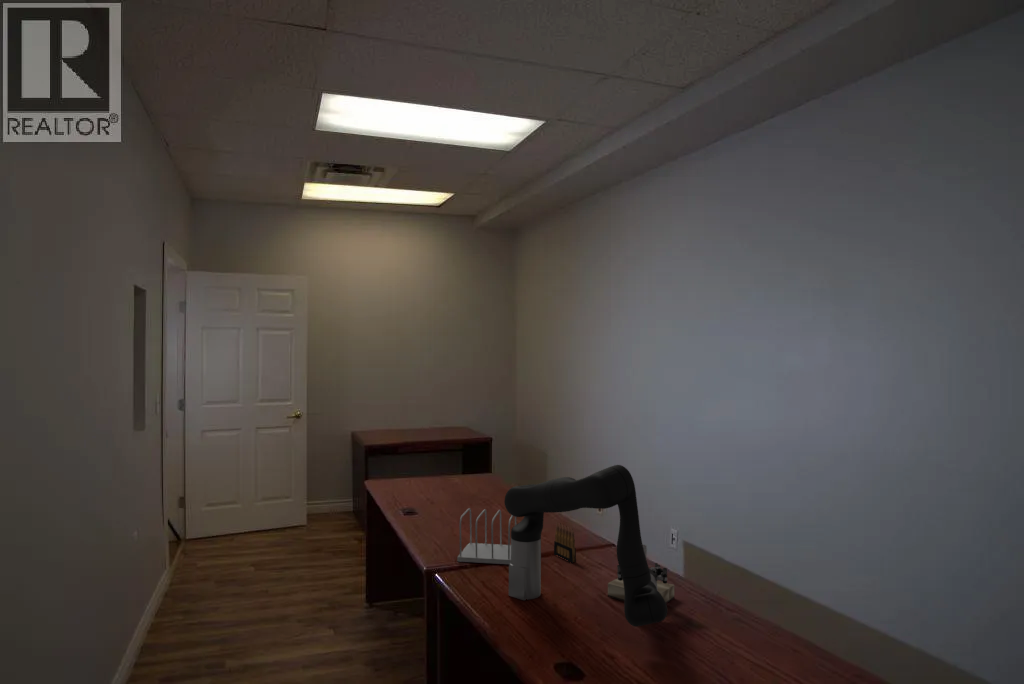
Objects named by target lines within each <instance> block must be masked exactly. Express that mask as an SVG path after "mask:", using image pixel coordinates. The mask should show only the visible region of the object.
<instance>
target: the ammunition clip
mask: <svg viewBox="0 0 1024 684" xmlns="http://www.w3.org/2000/svg"><path fill="white" fill-rule="evenodd" d="M575 539H576V538H575V531H574V527H572V528H571V527H570V526H569V527H568V525H566V526H565V525H564V524H562V523H561V522H560V523H559V522H558V521H556V524H555V535H554V542H553V555H554V556H555V555H558V556H560V557H562V558H564V559H566V560H568V561H569V562H568V561H567V562H568V563H570V562H572V563H571V564H574V563H573V562H576V563H577V552H576V551H577V548H576V542H575V541H576V540H575ZM564 559H563V560H564ZM566 560H565V561H566Z"/></svg>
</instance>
